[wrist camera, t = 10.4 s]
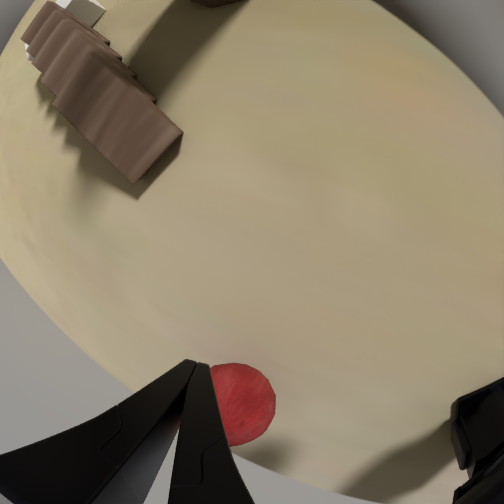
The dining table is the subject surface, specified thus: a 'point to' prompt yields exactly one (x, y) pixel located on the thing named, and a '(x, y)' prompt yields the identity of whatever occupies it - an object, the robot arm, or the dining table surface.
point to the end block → (79, 12)
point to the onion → (243, 401)
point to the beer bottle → (214, 2)
